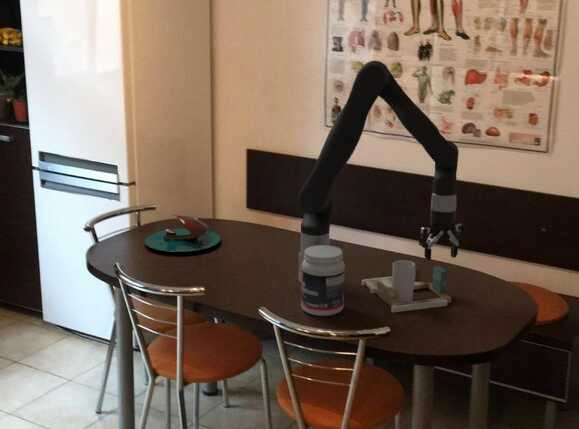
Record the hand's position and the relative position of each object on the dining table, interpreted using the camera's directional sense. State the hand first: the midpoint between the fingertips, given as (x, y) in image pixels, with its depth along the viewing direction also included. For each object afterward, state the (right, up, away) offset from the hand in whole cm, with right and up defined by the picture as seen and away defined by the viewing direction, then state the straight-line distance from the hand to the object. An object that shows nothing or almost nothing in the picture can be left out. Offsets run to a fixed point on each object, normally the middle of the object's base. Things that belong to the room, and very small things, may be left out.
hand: (440, 258), depth 248 cm
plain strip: (-13, -9, +11) cm, 20 cm away
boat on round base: (-86, +2, +52) cm, 101 cm away
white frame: (-9, -12, +1) cm, 15 cm away
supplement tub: (-37, -15, -7) cm, 40 cm away
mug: (-11, -13, 0) cm, 17 cm away
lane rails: (-11, -11, +4) cm, 17 cm away
